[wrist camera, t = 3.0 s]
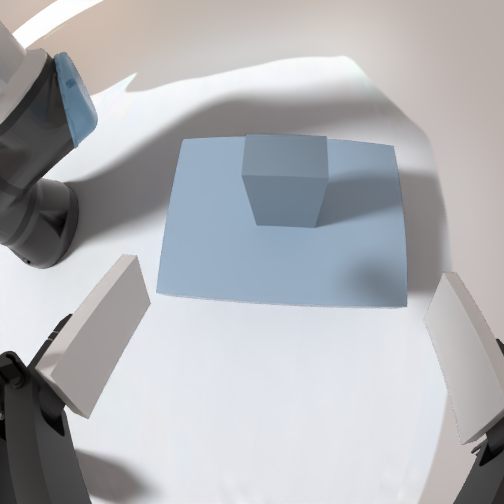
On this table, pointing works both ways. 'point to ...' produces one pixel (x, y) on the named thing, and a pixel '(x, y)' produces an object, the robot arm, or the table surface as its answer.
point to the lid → (286, 223)
